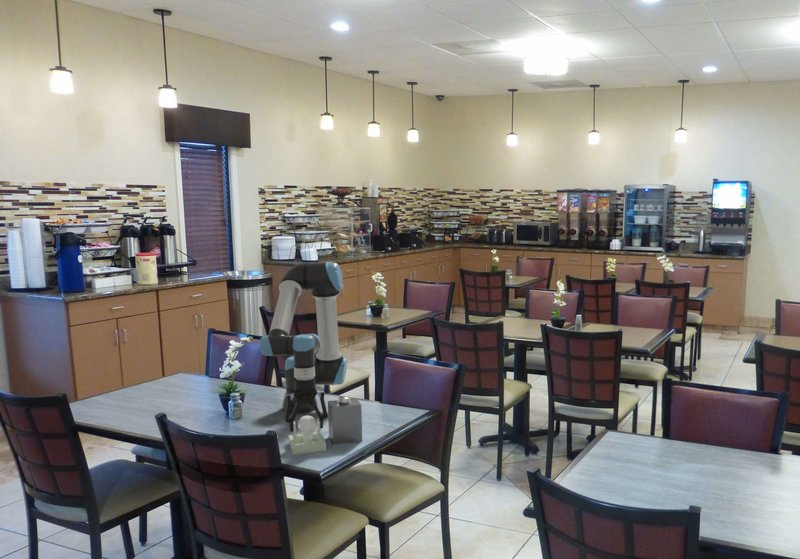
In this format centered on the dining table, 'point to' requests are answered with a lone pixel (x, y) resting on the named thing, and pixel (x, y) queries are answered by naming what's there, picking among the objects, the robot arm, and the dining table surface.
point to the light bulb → (307, 427)
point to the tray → (307, 444)
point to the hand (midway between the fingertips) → (306, 438)
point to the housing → (345, 420)
